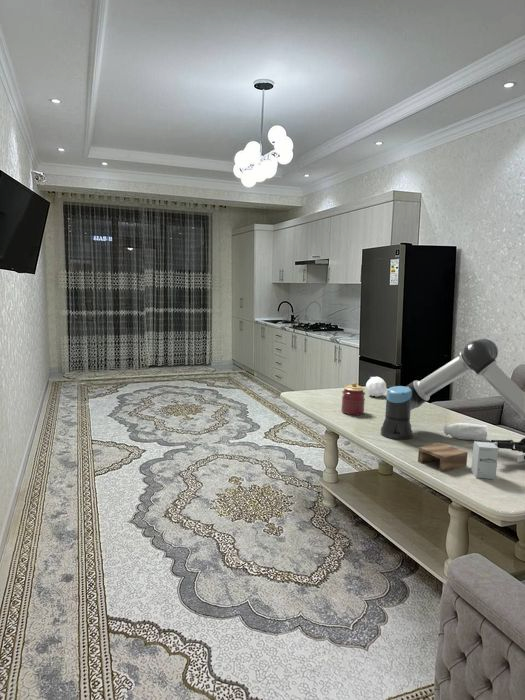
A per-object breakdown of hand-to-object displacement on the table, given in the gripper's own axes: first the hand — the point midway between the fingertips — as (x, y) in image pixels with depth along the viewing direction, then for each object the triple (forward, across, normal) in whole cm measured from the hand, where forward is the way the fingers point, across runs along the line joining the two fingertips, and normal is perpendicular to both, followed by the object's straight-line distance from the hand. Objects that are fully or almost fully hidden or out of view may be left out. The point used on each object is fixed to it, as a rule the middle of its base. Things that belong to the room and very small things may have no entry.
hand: (501, 452), depth 195 cm
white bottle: (-22, +33, -8) cm, 41 cm away
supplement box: (+11, 0, -8) cm, 13 cm away
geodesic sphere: (-47, +121, -8) cm, 130 cm away
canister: (-5, +95, -8) cm, 95 cm away
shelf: (+15, +16, -8) cm, 23 cm away
